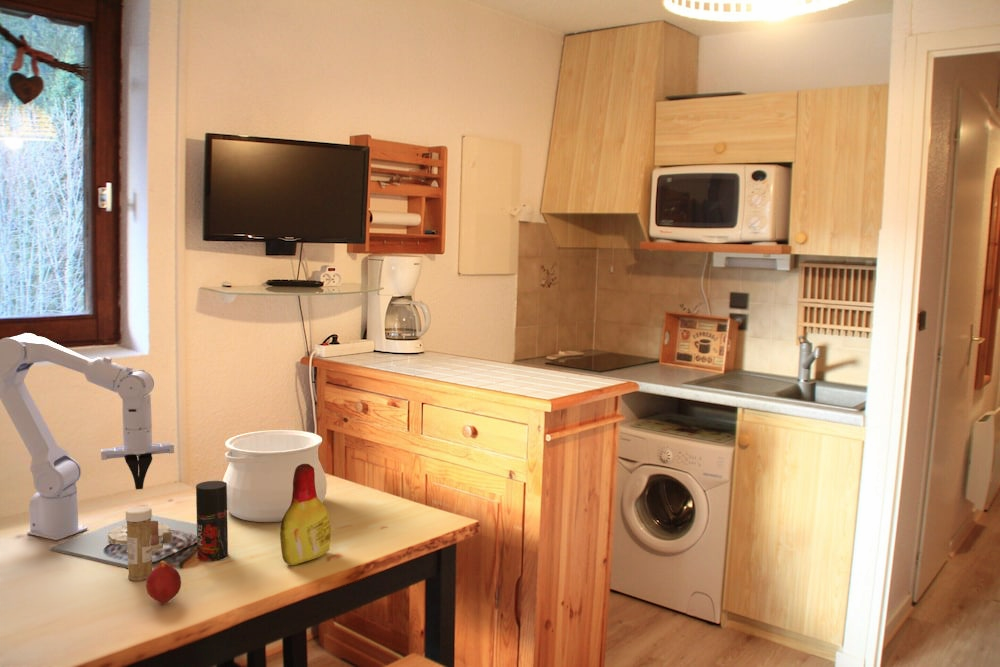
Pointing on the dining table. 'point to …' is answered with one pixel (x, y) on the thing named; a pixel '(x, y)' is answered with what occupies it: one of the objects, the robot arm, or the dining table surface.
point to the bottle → (304, 521)
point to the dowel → (167, 536)
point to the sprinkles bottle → (139, 542)
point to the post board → (98, 540)
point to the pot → (269, 472)
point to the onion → (163, 583)
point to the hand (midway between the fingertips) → (139, 488)
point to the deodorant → (212, 521)
